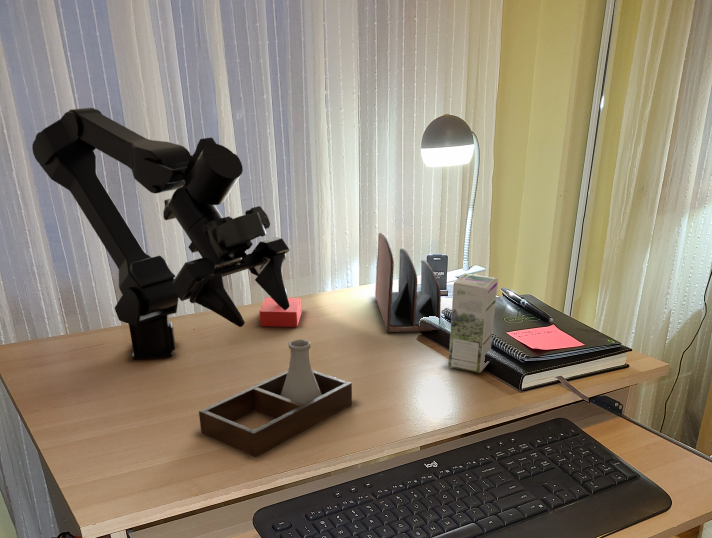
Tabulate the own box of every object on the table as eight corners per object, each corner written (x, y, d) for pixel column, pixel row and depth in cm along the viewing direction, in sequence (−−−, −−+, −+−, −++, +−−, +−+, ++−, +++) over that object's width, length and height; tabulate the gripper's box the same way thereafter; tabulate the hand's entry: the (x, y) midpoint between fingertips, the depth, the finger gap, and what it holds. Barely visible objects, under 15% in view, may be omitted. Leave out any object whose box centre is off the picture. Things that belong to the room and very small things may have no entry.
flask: (288, 421, 110) (284, 356, 105) (270, 401, 116) (266, 338, 110) (334, 411, 113) (333, 347, 108) (314, 393, 119) (312, 330, 113)
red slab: (297, 326, 142) (295, 293, 139) (260, 326, 143) (258, 292, 139) (301, 312, 149) (300, 279, 146) (266, 311, 149) (264, 279, 146)
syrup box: (490, 361, 130) (499, 276, 122) (479, 374, 125) (487, 286, 117) (458, 356, 132) (465, 271, 124) (446, 368, 127) (452, 281, 119)
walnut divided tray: (201, 433, 107) (198, 411, 105) (299, 385, 121) (298, 365, 119) (255, 457, 102) (253, 433, 100) (352, 404, 115) (352, 383, 113)
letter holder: (386, 333, 140) (388, 255, 133) (374, 298, 157) (375, 227, 149) (440, 332, 141) (445, 254, 134) (423, 297, 158) (426, 226, 150)
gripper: (175, 200, 98) (244, 302, 99) (276, 179, 111) (336, 269, 111) (145, 252, 106) (208, 346, 107) (242, 227, 119) (298, 311, 119)
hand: (265, 316), depth 111 cm, fingers open, 9 cm apart
